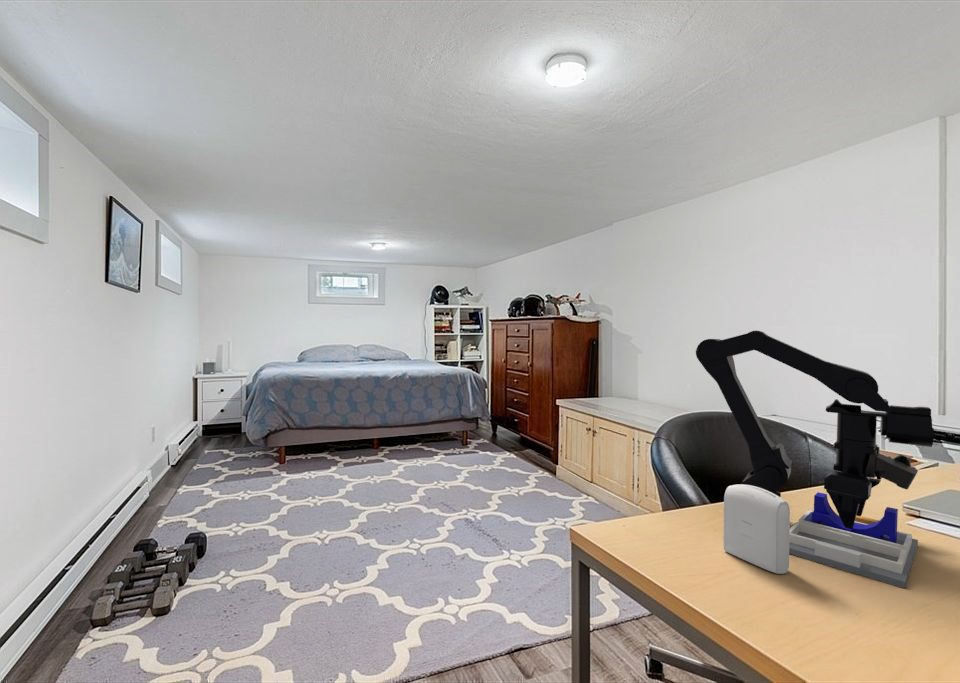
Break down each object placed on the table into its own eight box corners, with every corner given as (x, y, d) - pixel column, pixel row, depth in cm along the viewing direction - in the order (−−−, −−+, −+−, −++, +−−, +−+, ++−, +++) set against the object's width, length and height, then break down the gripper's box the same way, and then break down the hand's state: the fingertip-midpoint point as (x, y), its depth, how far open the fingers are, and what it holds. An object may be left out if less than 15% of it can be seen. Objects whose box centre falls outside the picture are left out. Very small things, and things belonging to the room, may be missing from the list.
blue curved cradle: (811, 528, 92) (812, 497, 91) (816, 522, 95) (817, 492, 95) (893, 549, 83) (894, 515, 83) (896, 542, 86) (897, 509, 86)
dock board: (905, 588, 72) (905, 568, 72) (776, 550, 84) (777, 533, 84) (917, 545, 87) (918, 529, 87) (807, 518, 99) (807, 503, 99)
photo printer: (718, 550, 84) (720, 480, 84) (734, 545, 86) (736, 477, 85) (776, 577, 74) (779, 499, 74) (793, 572, 76) (795, 495, 76)
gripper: (909, 455, 76) (905, 551, 76) (919, 438, 89) (916, 521, 89) (824, 442, 84) (821, 530, 84) (845, 429, 97) (842, 505, 97)
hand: (853, 521), depth 89 cm, fingers open, 9 cm apart
